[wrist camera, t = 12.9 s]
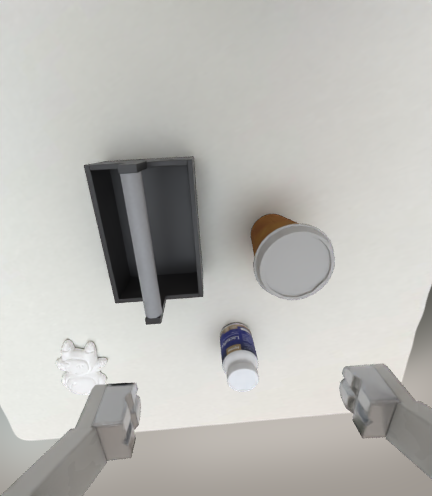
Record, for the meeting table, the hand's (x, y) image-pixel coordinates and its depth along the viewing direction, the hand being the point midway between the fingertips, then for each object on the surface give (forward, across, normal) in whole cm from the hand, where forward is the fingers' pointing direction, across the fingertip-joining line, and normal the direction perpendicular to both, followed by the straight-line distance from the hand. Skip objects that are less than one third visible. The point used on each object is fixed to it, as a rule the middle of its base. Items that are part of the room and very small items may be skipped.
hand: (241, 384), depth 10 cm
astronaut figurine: (+30, +25, +28) cm, 48 cm away
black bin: (+30, +8, +2) cm, 32 cm away
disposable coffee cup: (+31, -9, +5) cm, 32 cm away
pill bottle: (+30, -3, +24) cm, 39 cm away
